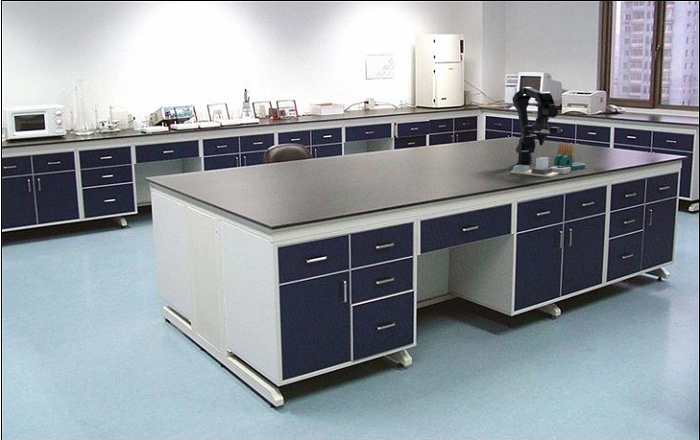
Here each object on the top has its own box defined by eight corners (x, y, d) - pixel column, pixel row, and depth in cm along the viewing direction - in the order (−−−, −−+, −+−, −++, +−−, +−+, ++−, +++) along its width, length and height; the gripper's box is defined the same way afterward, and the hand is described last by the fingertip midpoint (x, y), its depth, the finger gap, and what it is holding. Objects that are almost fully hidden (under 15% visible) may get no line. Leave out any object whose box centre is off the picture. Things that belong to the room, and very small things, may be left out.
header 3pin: (512, 170, 375) (513, 166, 375) (519, 168, 380) (519, 164, 380) (523, 172, 371) (523, 167, 371) (529, 170, 377) (529, 165, 376)
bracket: (562, 171, 377) (563, 156, 375) (553, 169, 383) (554, 155, 381) (587, 168, 385) (588, 153, 383) (578, 166, 391) (579, 152, 389)
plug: (535, 172, 368) (536, 158, 366) (541, 170, 373) (541, 156, 371) (542, 172, 365) (543, 159, 363) (548, 170, 370) (549, 157, 368)
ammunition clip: (573, 164, 396) (575, 143, 393) (571, 165, 395) (572, 143, 392) (558, 162, 405) (559, 141, 402) (556, 162, 404) (557, 141, 401)
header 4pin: (531, 173, 368) (531, 169, 367) (539, 170, 374) (539, 166, 374) (544, 174, 363) (544, 170, 363) (551, 172, 370) (552, 168, 369)
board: (510, 172, 374) (510, 171, 374) (519, 169, 382) (519, 168, 382) (550, 177, 361) (550, 175, 361) (558, 174, 368) (558, 172, 368)
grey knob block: (549, 172, 373) (549, 166, 373) (555, 170, 379) (556, 164, 379) (564, 174, 369) (564, 168, 368) (570, 171, 374) (570, 166, 374)
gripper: (519, 116, 378) (518, 145, 382) (553, 118, 366) (551, 148, 370) (529, 114, 386) (527, 143, 390) (562, 116, 375) (560, 146, 378)
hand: (541, 145), depth 382 cm, fingers closed
